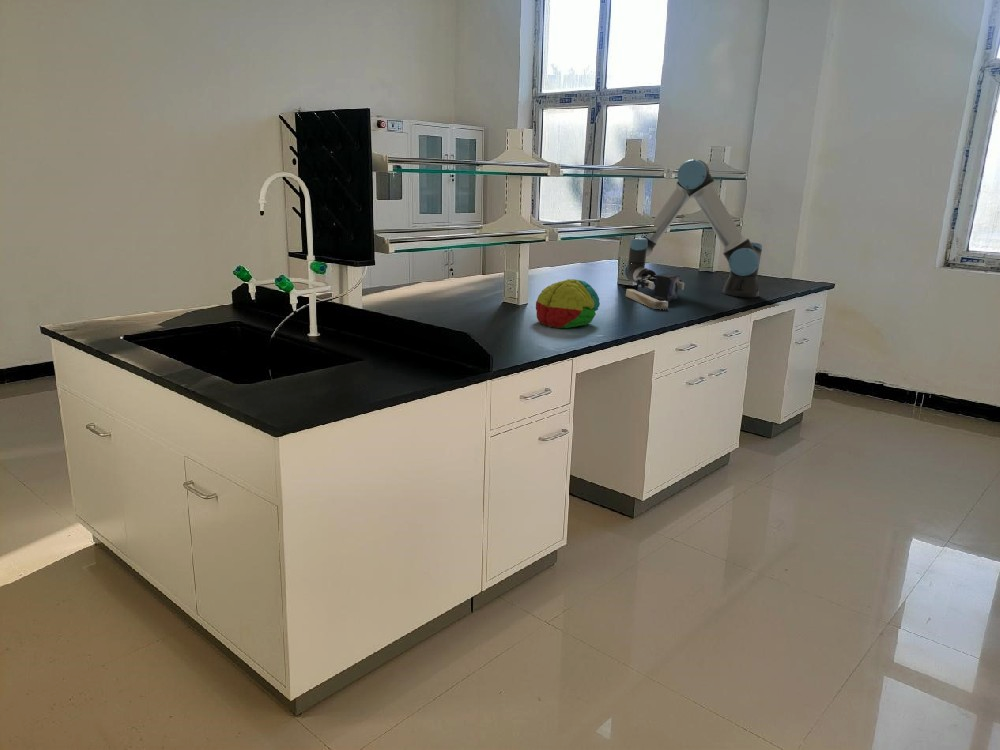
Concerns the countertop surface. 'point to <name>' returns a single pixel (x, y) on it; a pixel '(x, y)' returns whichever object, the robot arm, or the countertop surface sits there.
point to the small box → (666, 287)
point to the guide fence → (646, 299)
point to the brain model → (567, 304)
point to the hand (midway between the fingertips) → (668, 286)
